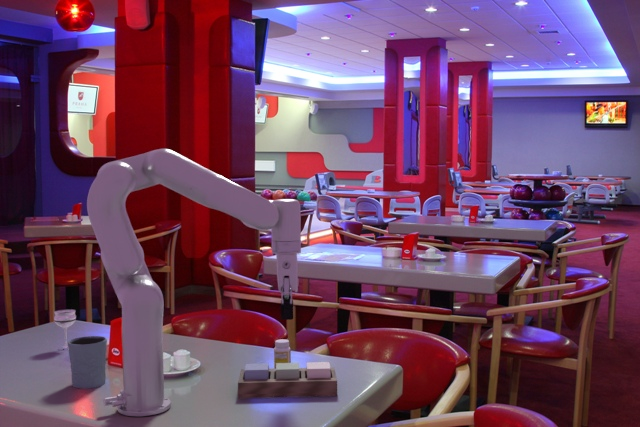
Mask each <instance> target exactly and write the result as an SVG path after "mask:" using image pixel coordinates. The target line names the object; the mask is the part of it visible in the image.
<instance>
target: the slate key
mask: <svg viewBox="0 0 640 427" xmlns="http://www.w3.org/2000/svg"><path fill="white" fill-rule="evenodd" d="M244 369H245V370H244V371H245V380H253V379H269V369H270V364H269V363H268V362H267V363H264V362H262V363H245V368H244Z"/></svg>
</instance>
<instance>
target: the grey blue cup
mask: <svg viewBox="0 0 640 427" xmlns="http://www.w3.org/2000/svg"><path fill="white" fill-rule="evenodd" d="M107 345H108V338H107V337H105V336H99V335H90V336H81V337H79V336H78V337H75V338H72V339H70V340H68V341H67V346H68V349H69V350H68V356H69V363H70V369H71V371H70V372H71V383H72V387H73V388H76V389H82V390H83V389H84V390H85V389H95V388H99V387H102V386H103V385H105V384H106V380H107V379H106V378H107V377H106V376H107V374H106V368H107V367H106V365H107V362H106V360H107Z"/></svg>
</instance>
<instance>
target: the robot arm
mask: <svg viewBox="0 0 640 427" xmlns="http://www.w3.org/2000/svg"><path fill="white" fill-rule="evenodd" d="M156 185H162V186H163V187H166V188H167V189H169V190H172V191H174V192H175V193H176V194H177V193H178V194H179V195H182V196H184V197H186V198H187V199H189V200H192V202H195V203H197V204H200V205H202V206H204V207H207V208H209V209H213V210H216V211H220V212H222V213H225V214H226V215H229V216H231V217H233V218H235V219H238V220H239V221H240V222H241V223H243V225H245V226H246V227H248V228H251V229H255V230H258V231H265V232H266V231H269V230H270V231H271V254H274V255H276V280H277V289H278V292H279V293H280V296H281V297H280V298H281V300H280V320H282V321H283V320H284V321H286V320H288V321H289V320H294V300H293V292H295V293H298V291H299V288H298V283H299V282H298V279H299V278H298V277H299V276H298V275H299V274H298V272H299V271H298V270H299V268H298V266H299V265H298V255H297V254H301V253H302V244H301V242H302V240H301V239H302V237H301V236H302V234H301V232H302V231H301V230H302V229H301V228H302V227H301V225H302V224H301V222H302V221H301V220H302V219H301V204H300V201H299V200H298V199H293V198H280V199H274V200H271V199H269V200H268V198H265V197H263V196H261V195H259V194H257V193H256V192H253V191H252V190H250V189H247V188H246V187H244V186H242V185H239V184H238V183H235V182H233V181H231V180H230V179H228V178H226V177H224V176H223V175H221V174H218V173H216V172H214V171H212V170H210V169H209V168H206V167H204V166H202V165H201V164H199V163H197V162H195V161H193V160H191V159H189V158H188V157H186V156H184V155H182V154H180V153H178V152H176V151H174V150H172V149H169V148H159V149H154V150H150V151H148V152H145V153H141V154H137V155H134V156H130V157H125V158H121V159H117V160H113V161H109V162H107V163H104V164H103V165H102V166H100V168H99V169H98V172H97V174H96V176H95V178H94V180H93V182H92V183H91V184H90V187H89V190H88V195H87V198H86V199H87V200H86V211H87V216H88V219H89V222H90V225H91V227H92V230H93V232H94V236H95V238H96V241H97V244H98V246H99V248H100V259H101V262H102V264H103V267H104V269H105V271H106V273H107V276H108V279H109V281H110V283H111V286H112V288H113V290H114V293H115V295H116V296H117V299H118V302H119V303H120V306H121V343H122V344H121V346H122V347H121V348H122V376H123V377H122V378H123V379H122V380H123V389H120V390H119V393H118V394H116V395H115V396H108V397H103V400H102V401H103V406H104V407H107V406H108V407H109V406H111V407H112V408H115V407H116V408H117V412H118V413H119V414H121V415H123V416H129V417H149V416H155V415H158V414H162V413H164V412H166V411H167V410H169V409H170V408H171V406H172V400H171V399H169V398H168V397H166V396H165V379H164V378H165V377H164V376H165V373H164V339H163V338H164V332H163V329H164V328H163V326H164V325H163V323H164V307H165V306H164V303H165V302H164V295H163V292H162V290H161V288H160V286H159V285H158V284H157V283H156V282H155V281H154V280H153V278H152V275H151V274H150V271H149V268H148V266H147V264H146V261H145V253H144V249H143V247H142V246H141V244H140V242H139V240H138V238H137V236H136V233H135V231H134V228H133V226H132V223H131V220H130V218H129V215H128V211H127V208H126V201H127V198H128V196H129V195H130V193H133V192H135V191H140V190H143V189H147V188H150V187H154V186H156Z"/></svg>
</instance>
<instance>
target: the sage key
mask: <svg viewBox="0 0 640 427" xmlns="http://www.w3.org/2000/svg"><path fill="white" fill-rule="evenodd" d="M299 368H300V362H291V363H276V379H299Z"/></svg>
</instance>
